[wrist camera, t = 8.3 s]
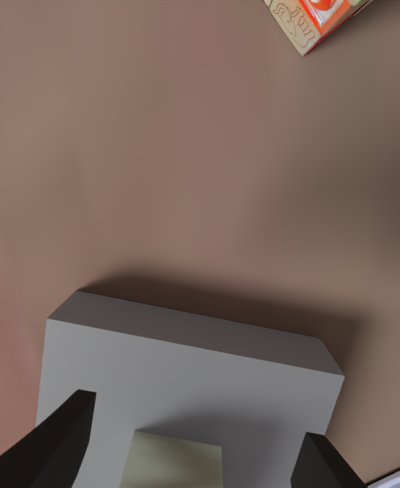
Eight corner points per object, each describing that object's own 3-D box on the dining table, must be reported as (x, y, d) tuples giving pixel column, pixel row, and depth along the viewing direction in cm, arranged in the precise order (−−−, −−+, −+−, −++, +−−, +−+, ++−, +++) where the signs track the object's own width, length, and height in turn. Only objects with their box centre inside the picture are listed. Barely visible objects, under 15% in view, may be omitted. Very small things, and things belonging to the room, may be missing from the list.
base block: (320, 338, 22) (345, 376, 18) (260, 525, 25) (270, 590, 21) (76, 290, 21) (46, 318, 17) (51, 488, 25) (22, 548, 21)
